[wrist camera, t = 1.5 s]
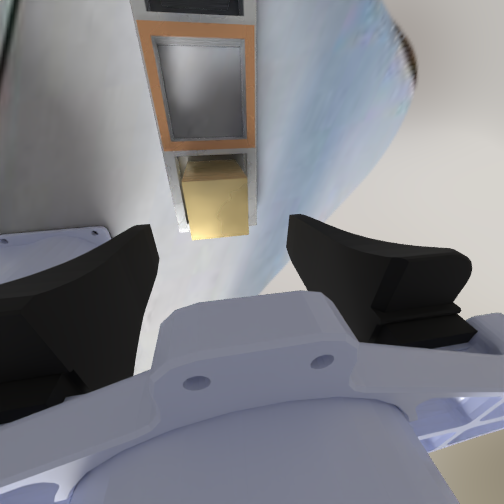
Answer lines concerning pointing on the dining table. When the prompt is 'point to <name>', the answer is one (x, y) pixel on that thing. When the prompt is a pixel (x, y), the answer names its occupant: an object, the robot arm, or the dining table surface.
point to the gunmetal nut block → (197, 4)
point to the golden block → (216, 199)
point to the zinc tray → (149, 36)
